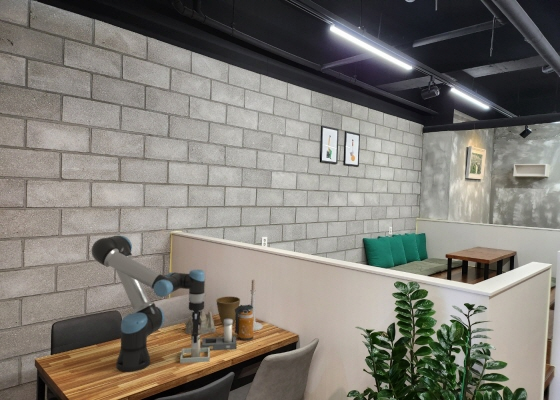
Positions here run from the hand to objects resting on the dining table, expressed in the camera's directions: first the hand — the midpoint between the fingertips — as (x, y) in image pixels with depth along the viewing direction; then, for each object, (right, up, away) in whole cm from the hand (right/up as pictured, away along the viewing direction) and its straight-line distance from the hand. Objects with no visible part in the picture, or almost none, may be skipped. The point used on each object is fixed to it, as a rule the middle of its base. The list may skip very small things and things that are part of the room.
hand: (195, 343), depth 190 cm
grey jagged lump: (-5, -7, +38) cm, 39 cm away
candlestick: (+25, -8, +47) cm, 54 cm away
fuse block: (+9, -8, +14) cm, 19 cm away
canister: (+22, -8, +26) cm, 35 cm away
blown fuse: (0, -7, 0) cm, 7 cm away
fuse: (+14, -7, +15) cm, 22 cm away
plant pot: (+9, -7, +51) cm, 52 cm away
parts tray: (0, -8, 0) cm, 8 cm away
